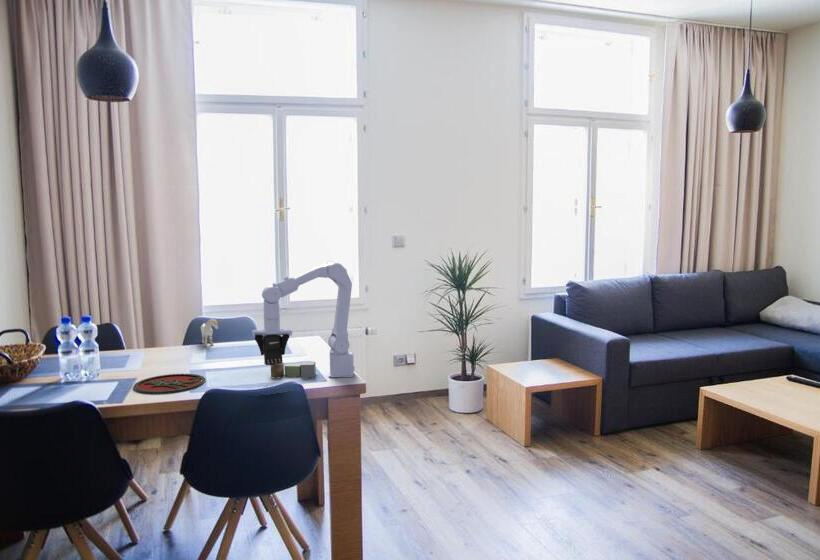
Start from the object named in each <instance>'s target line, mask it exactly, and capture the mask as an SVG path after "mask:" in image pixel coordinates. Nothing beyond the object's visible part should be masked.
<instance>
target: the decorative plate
mask: <svg viewBox="0 0 820 560" xmlns="http://www.w3.org/2000/svg"><path fill="white" fill-rule="evenodd" d="M201 380H202V381H201ZM206 380H207V379H206V377H204V376H203V375H200V374H195V373H194V374H193V373H171V374H162V375H161V374H160V375H156V376H152V377H147V378H144V379H141V380H139V381H137V382H135V383H134V385H133V390H134V391H135V392H136V393H140V394H145V395H166V394H168V395H169V393H170V394H176V393H182V392H183V393H184V392H187V391H191V389H192V390H194V388H195V389H197V387H198V388H200V387H202V386H204V385H205V384H206ZM204 383H205V384H204ZM203 384H204V385H203ZM201 385H202V386H201ZM199 386H200V387H199Z"/></svg>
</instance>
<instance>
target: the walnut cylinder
mask: <svg viewBox="0 0 820 560" xmlns="http://www.w3.org/2000/svg"><path fill="white" fill-rule="evenodd" d="M284 364H285V363H284V362H283V363H281V364H276V365H270V377H271V378H272V377H274V378H273V379H280V378H283V377H285V365H284ZM279 377H280V378H279Z"/></svg>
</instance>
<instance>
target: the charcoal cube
mask: <svg viewBox="0 0 820 560" xmlns="http://www.w3.org/2000/svg"><path fill="white" fill-rule="evenodd" d="M300 364H301V375H300V376H301V377H300V378H315V377H314V376H316V373H317V371H316V369H317V367H316V361H302V362H301V363H300Z"/></svg>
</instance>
